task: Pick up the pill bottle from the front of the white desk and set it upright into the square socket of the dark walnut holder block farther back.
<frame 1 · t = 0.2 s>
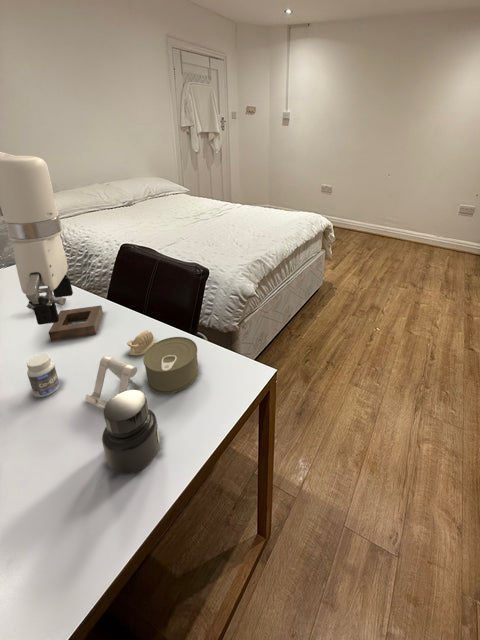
hand: (57, 308, 64), 23 cm above the table, tool pointing down, fingers open, 9 cm apart
can: (173, 375, 79), on the table
seashell: (48, 308, 102), on the table
pill bottle: (47, 389, 73), on the table
decorative ornament: (141, 350, 87), on the table
ink bottle: (134, 452, 61), on the table
tablet stand: (116, 397, 72), on the table
holder: (78, 326, 94), on the table
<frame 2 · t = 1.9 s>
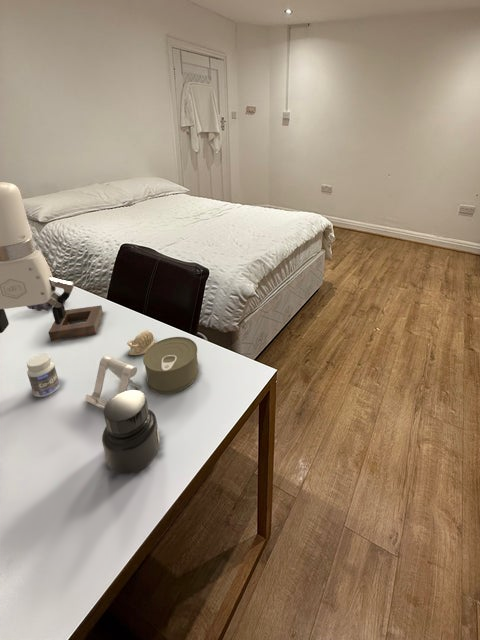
hand: (32, 324, 67), 18 cm above the table, tool pointing down, fingers open, 9 cm apart
nothing on the table moved.
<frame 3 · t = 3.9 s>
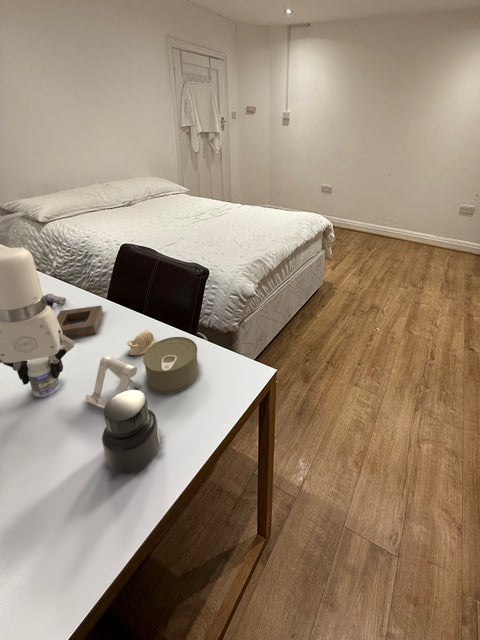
hand: (43, 376, 72), 4 cm above the table, tool pointing down, fingers closed on pill bottle, 4 cm apart
pill bottle: (47, 389, 73), on the table, touching gripper
everything else where it was.
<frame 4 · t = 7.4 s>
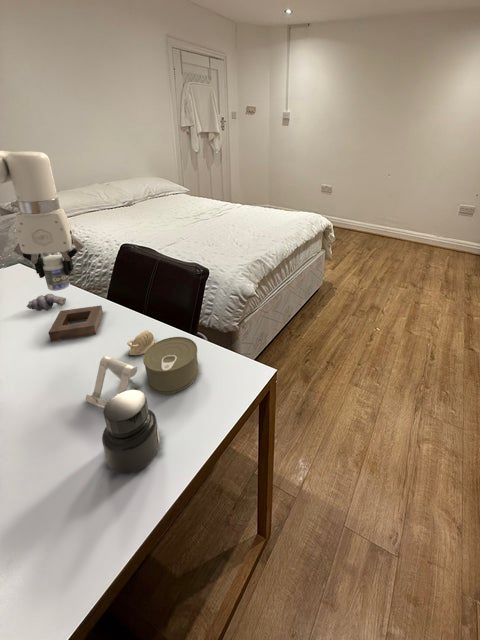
hand: (56, 273, 82), 20 cm above the table, tool pointing down, fingers closed on pill bottle, 4 cm apart
pill bottle: (59, 287, 84), point 16 cm above the table, touching gripper
everything else where it was.
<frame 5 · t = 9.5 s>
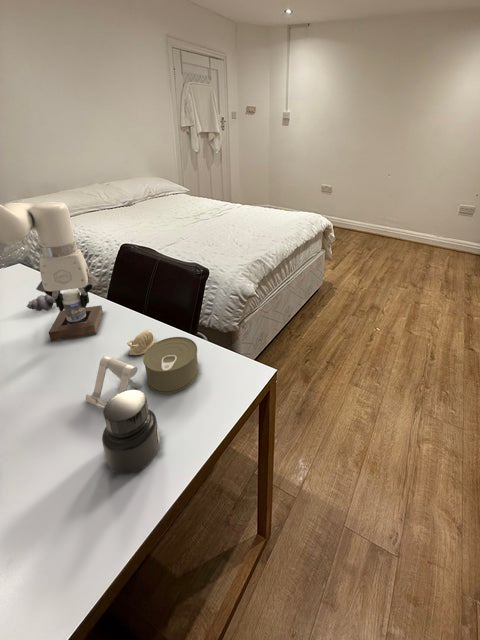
hand: (74, 306, 92), 7 cm above the table, tool pointing down, fingers closed on pill bottle, 4 cm apart
pill bottle: (77, 318, 93), point 3 cm above the table, touching gripper
everything else where it was.
when the fingers open (4 cm above the table, at t = 10.8 s): pill bottle stays where it is, resting in holder.
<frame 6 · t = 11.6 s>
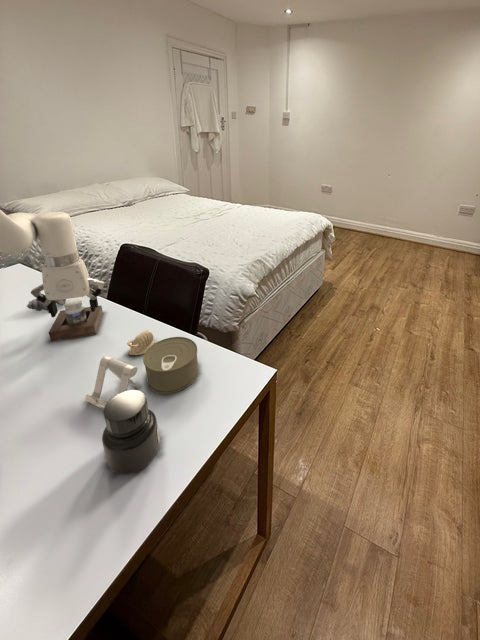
hand: (74, 311, 92), 5 cm above the table, tool pointing down, fingers open, 9 cm apart
pill bottle: (78, 327, 94), resting in holder
everything else where it was.
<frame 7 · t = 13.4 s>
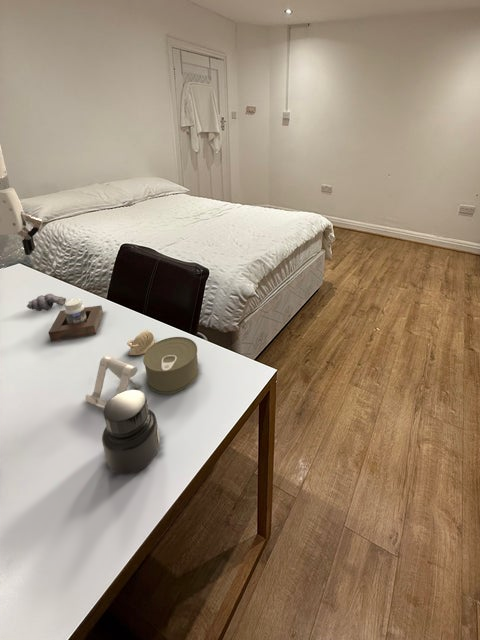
hand: (5, 254, 77), 26 cm above the table, tool pointing down, fingers open, 9 cm apart
nothing on the table moved.
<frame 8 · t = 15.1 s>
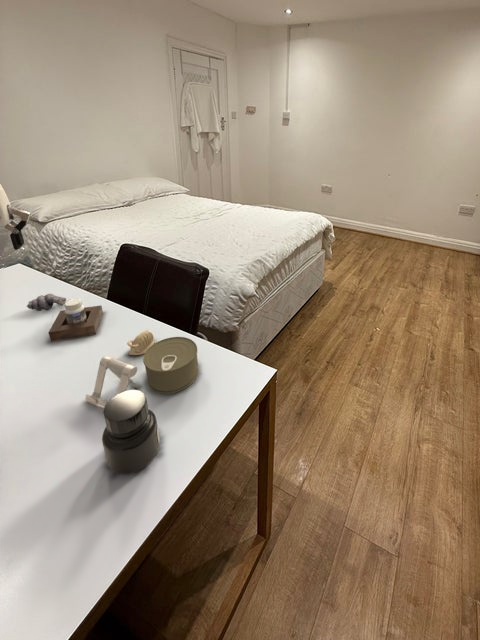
nothing on the table moved.
at the end: pill bottle 0.0 cm off-centre in the holder, point 0.0 cm above the holder's base; pill bottle tilted 0°; the gripper is holding nothing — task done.
